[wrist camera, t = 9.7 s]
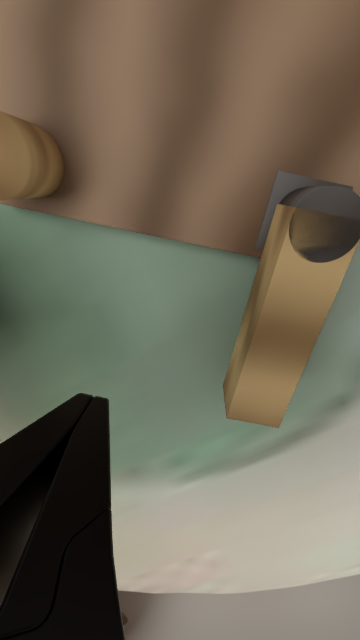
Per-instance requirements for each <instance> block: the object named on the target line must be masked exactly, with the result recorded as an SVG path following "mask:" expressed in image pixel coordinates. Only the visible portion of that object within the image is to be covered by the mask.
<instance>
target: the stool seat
mask: <svg viewBox="0 0 360 640" xmlns="http://www.w3.org/2000/svg"><path fill="white" fill-rule="evenodd" d="M314 186H342V187H345V188H348V189H350V190H352V191H354V192H355V193H356V194H357V195H358V196H359V194H360V0H0V204H4V205H9V206H14V207H18V208H23V209H28V210H33V211H38V212H42V213H47V214H52V215H57V216H62V217H66V218H71V219H76V220H81V221H86V222H90V223H95V224H100V225H105V226H110V227H114V228H119V229H124V230H129V231H134V232H139V233H143V234H148V235H153V236H158V237H163V238H167V239H172V240H177V241H182V242H187V243H191V244H196V245H201V246H206V247H211V248H215V249H220V250H225V251H230V252H235V253H239V254H244V255H249V256H254V257H259V258H261V256H262V253H263V249H264V246H265V243H266V239H267V236H268V233H269V229H270V226H271V223H272V219H273V216H274V213H275V209H276V206H277V204H279V203H280V201H281V200H282V199H283V198H284V197H285V196H286V195H287V194H289V193H290V192H292V191H294V190H296V189H298V188H302V187H314Z"/></svg>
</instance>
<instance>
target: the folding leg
mask: <svg viewBox="0 0 360 640" xmlns="http://www.w3.org/2000/svg"><path fill="white" fill-rule="evenodd" d="M359 241H360V197H359V196H358V195H357V194H356V193H355V192H354V191H352V190H350V189H348V188H345V187H342V186H314V187H302V188H298V189H296V190H294V191H292V192H290V193H289V194H287V195H286V196H285V197H284V198H283V199H282V200H281V201H280V203H279V204H277V206H276V209H275V213H274V216H273V219H272V223H271V226H270V229H269V233H268V236H267V239H266V243H265V246H264V249H263V253H262V256H261V260H260V263H259V266H258V270H257V273H256V276H255V280H254V283H253V286H252V290H251V293H250V296H249V300H248V303H247V306H246V310H245V313H244V317H243V320H242V323H241V327H240V330H239V333H238V337H237V340H236V343H235V347H234V350H233V353H232V357H231V360H230V363H229V367H228V370H227V373H226V377H225V380H224V384H223V390H224V399H225V408H226V418H229V419H234V420H240V421H245V422H250V423H256V424H261V425H266V426H271V427H277V428H279V426H280V424H281V421H282V419H283V417H284V414H285V412H286V410H287V407H288V405H289V403H290V401H291V398H292V396H293V394H294V391H295V389H296V387H297V384H298V382H299V380H300V377H301V375H302V373H303V370H304V368H305V366H306V363H307V361H308V359H309V357H310V354H311V352H312V350H313V347H314V345H315V343H316V340H317V338H318V336H319V333H320V331H321V329H322V326H323V324H324V322H325V320H326V317H327V315H328V313H329V310H330V308H331V306H332V303H333V301H334V299H335V296H336V294H337V292H338V289H339V287H340V285H341V283H342V280H343V278H344V276H345V273H346V271H347V269H348V266H349V264H350V262H351V259H352V257H353V255H354V252H355V250H356V248H357V245H358V243H359Z"/></svg>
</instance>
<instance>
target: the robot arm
mask: <svg viewBox="0 0 360 640" xmlns="http://www.w3.org/2000/svg"><path fill="white" fill-rule="evenodd" d="M0 640H125V636H124V629H123V622H122V616H121V609H120V602H119V596H118V589H117V581H116V573H115V565H114V557H113V541H112V514H111V476H110V431H109V400H108V399H107V398H103V397H98V396H95V397H93V396H92V395H89V394H84V393H79V394H77V395H75V396H74V397H72V398H70V399H69V400H67V401H66V402H64V403H63V404H61V405H60V406H58V407H57V408H55V409H54V410H52V411H50V412H49V413H47V414H46V415H44V416H43V417H41V418H40V419H38V420H37V421H35V422H33V423H32V424H30V425H29V426H27V427H26V428H24V429H23V430H21V431H20V432H18V433H16V434H15V435H13V436H12V437H10V438H9V439H7V440H6V441H4V442H3V443H1V444H0Z"/></svg>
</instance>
